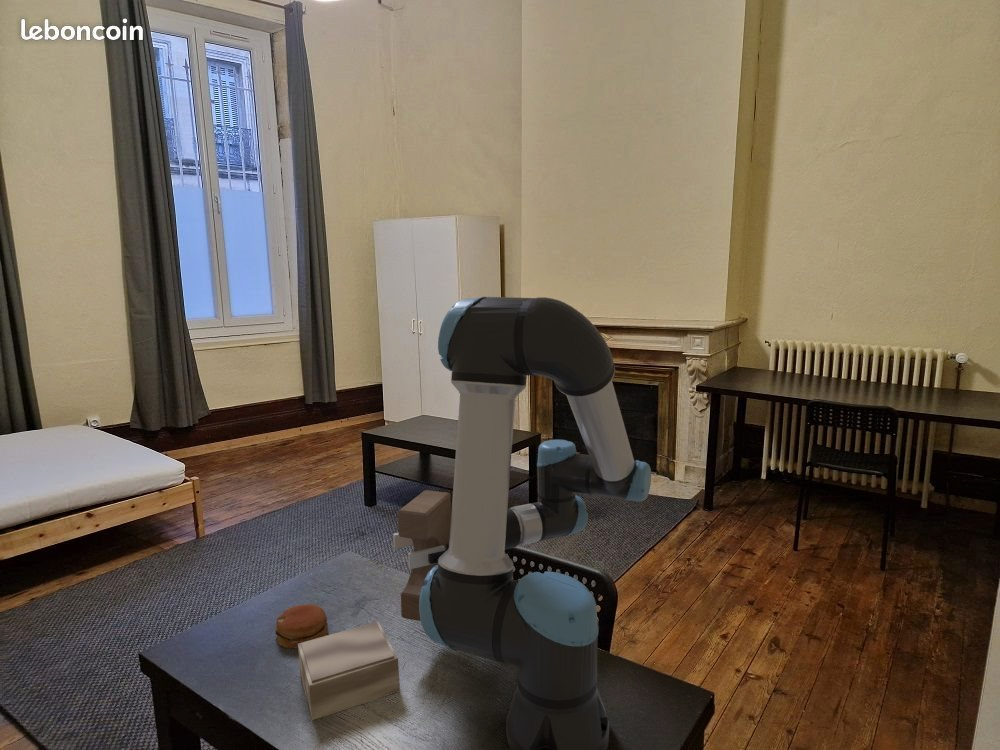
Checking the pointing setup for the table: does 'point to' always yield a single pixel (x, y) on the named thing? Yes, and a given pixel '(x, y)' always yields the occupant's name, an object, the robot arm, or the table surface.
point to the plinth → (347, 669)
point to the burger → (301, 625)
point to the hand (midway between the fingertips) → (401, 550)
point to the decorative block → (423, 540)
